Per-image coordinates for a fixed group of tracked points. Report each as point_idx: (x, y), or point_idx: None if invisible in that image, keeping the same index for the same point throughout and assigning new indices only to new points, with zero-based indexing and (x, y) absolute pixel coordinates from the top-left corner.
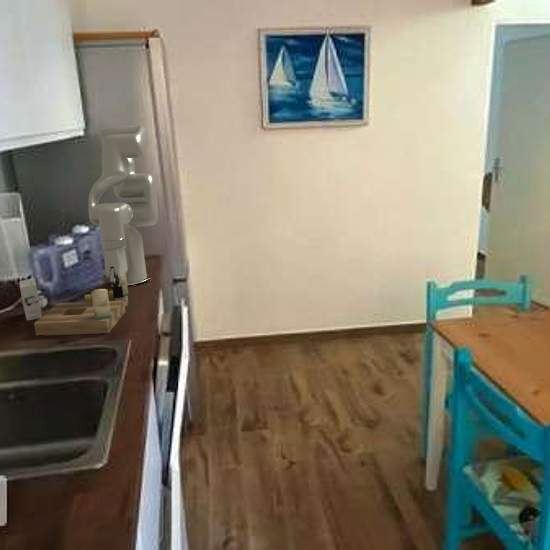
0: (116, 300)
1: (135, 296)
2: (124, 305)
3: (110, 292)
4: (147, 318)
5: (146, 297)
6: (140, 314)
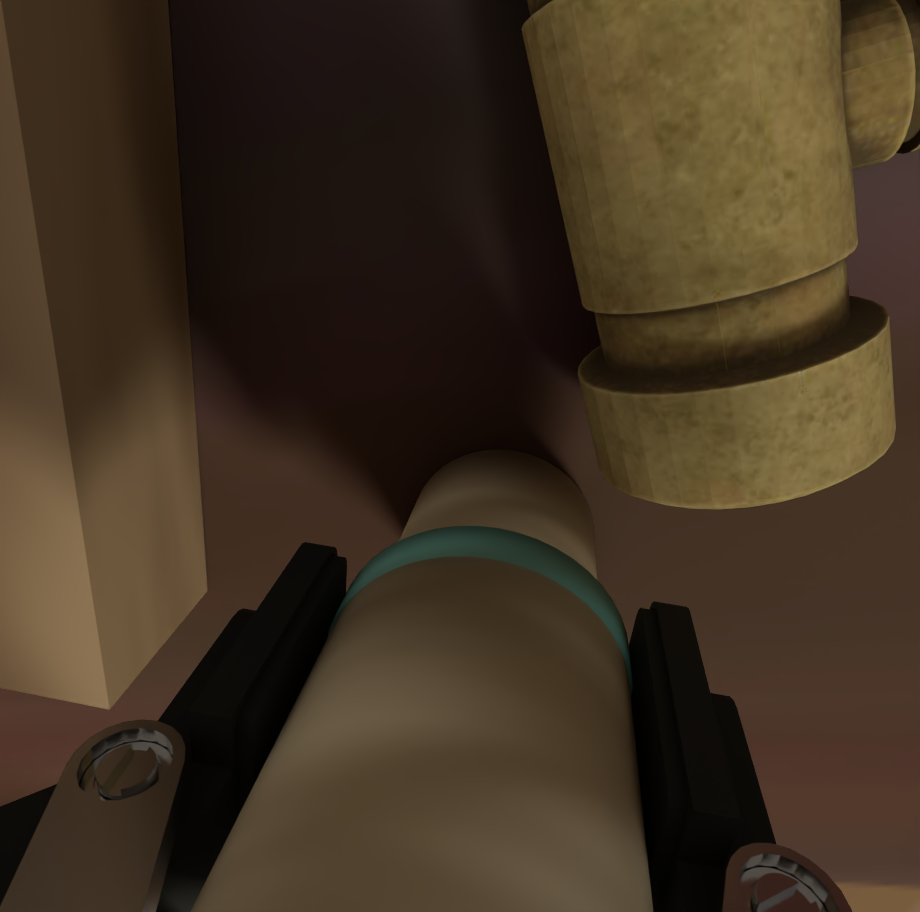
0: (421, 518)
1: (888, 681)
2: (152, 651)
3: (691, 432)
4: (13, 790)
5: None
6: None
